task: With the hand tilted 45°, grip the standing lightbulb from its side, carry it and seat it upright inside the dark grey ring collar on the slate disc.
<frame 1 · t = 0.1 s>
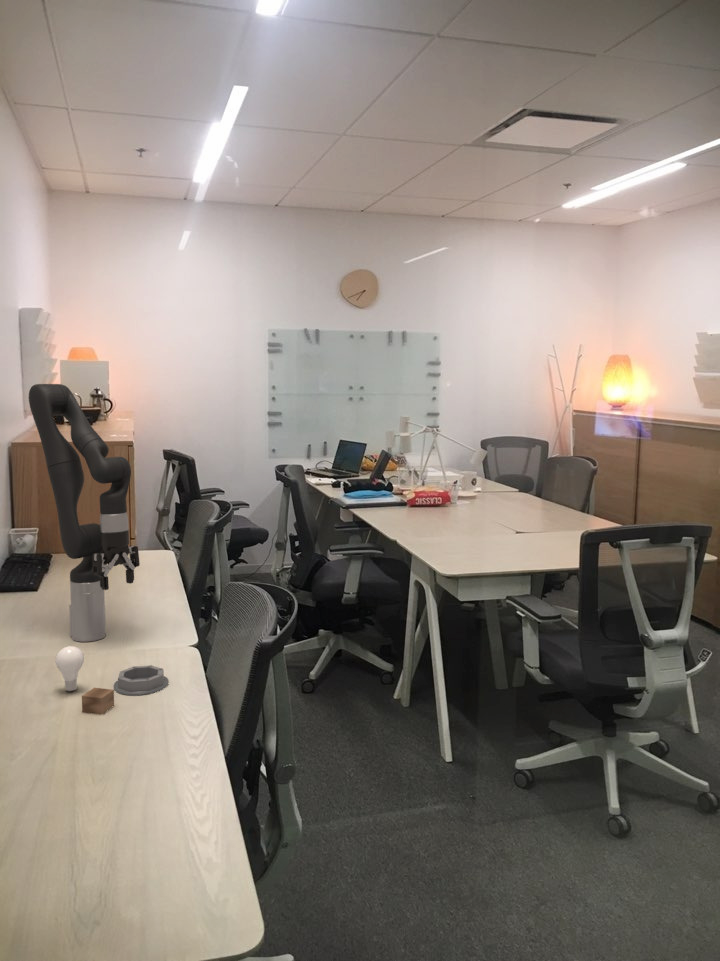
hand: (117, 586, 215), 17 cm above the table, tool pointing down, fingers open, 8 cm apart
walnut block: (98, 709, 175), on the table
socket collar: (141, 685, 189), on the table
lightbulb: (71, 691, 185), on the table
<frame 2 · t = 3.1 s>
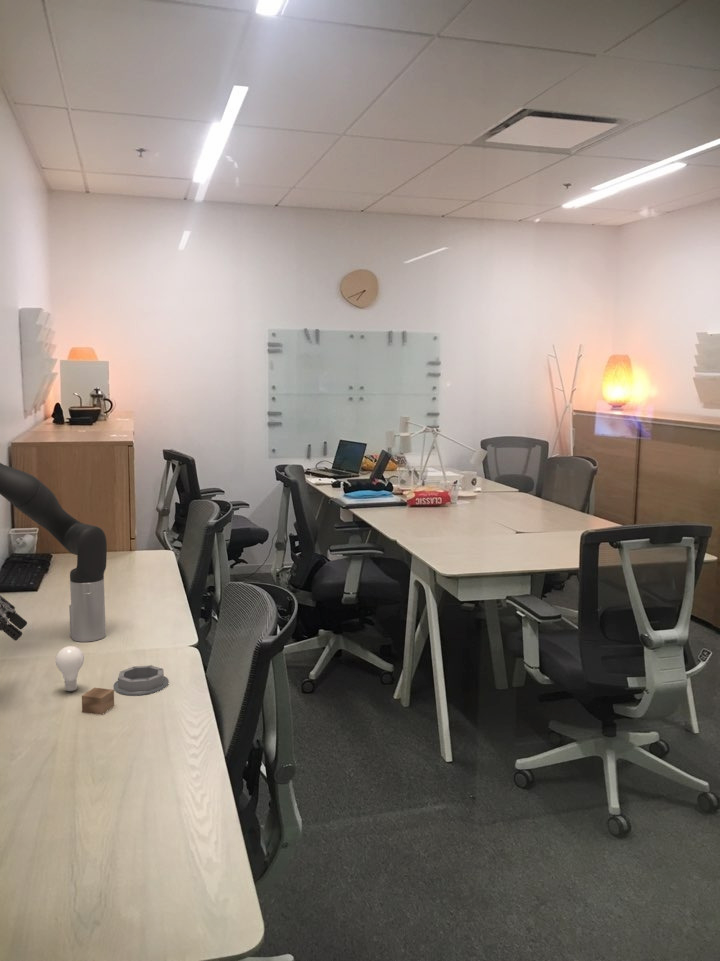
hand: (22, 631, 180), 15 cm above the table, tool tilted 45°, fingers open, 8 cm apart
nothing on the table moved.
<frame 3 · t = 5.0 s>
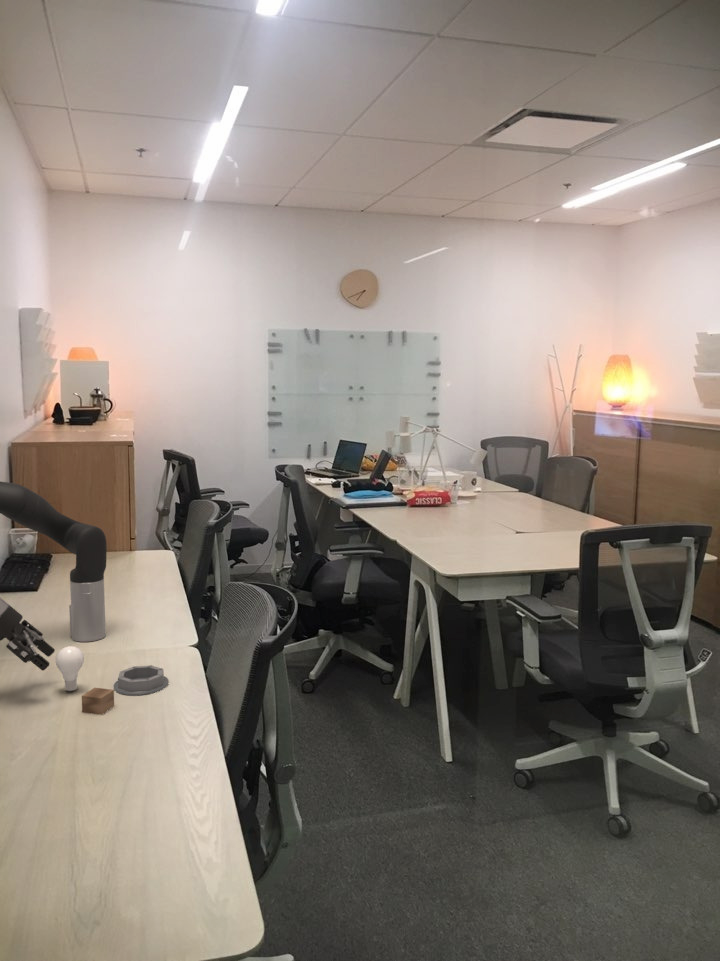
hand: (49, 660, 183), 8 cm above the table, tool tilted 45°, fingers open, 8 cm apart
nothing on the table moved.
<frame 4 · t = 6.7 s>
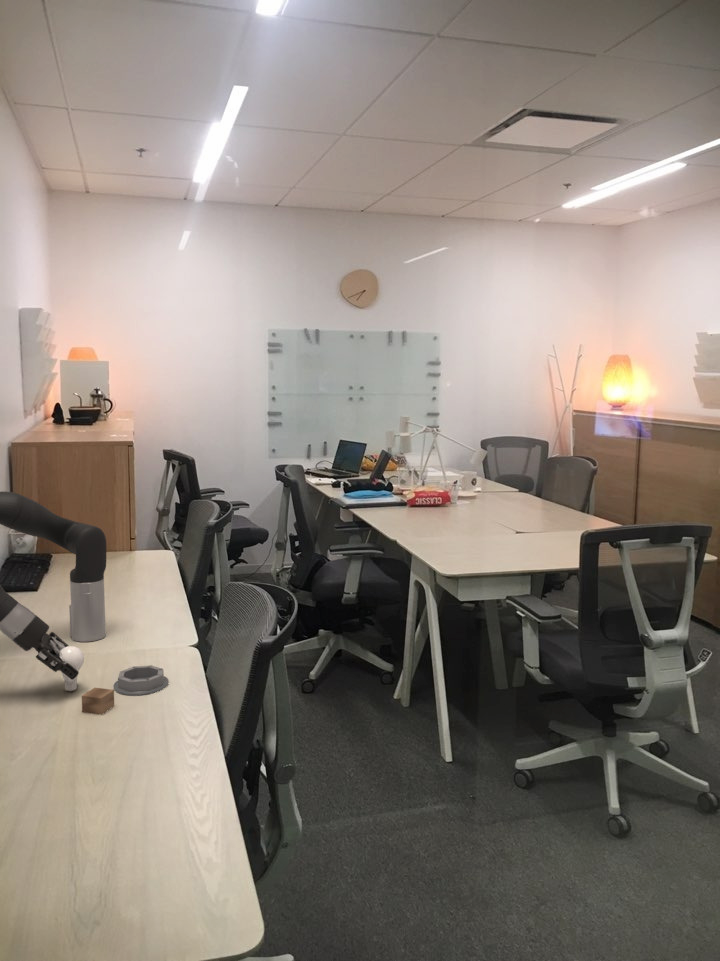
hand: (77, 670, 185), 5 cm above the table, tool tilted 45°, fingers closed on lightbulb, 6 cm apart
lightbulb: (71, 691, 185), on the table, touching gripper
everything else where it was.
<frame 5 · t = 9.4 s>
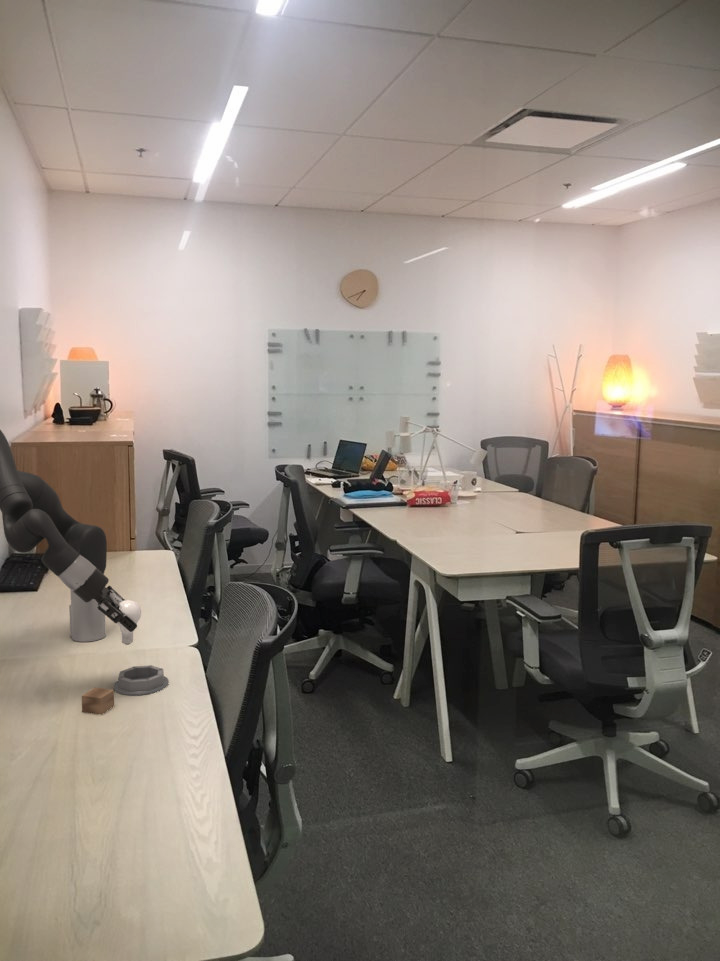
hand: (134, 624, 187), 15 cm above the table, tool tilted 45°, fingers closed on lightbulb, 6 cm apart
lightbulb: (127, 645, 187), point 10 cm above the table, touching gripper
everything else where it was.
when the fingers open (6 cm above the table, at t = 12.1 s): lightbulb stays where it is, resting on socket collar.
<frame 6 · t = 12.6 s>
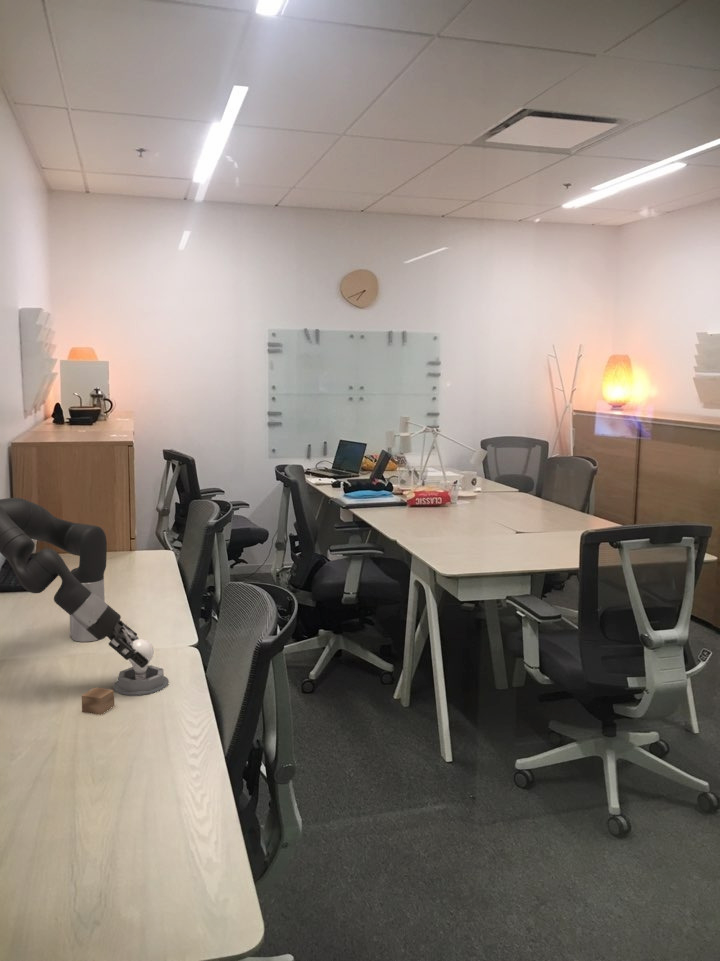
hand: (146, 658, 188), 7 cm above the table, tool tilted 45°, fingers open, 8 cm apart
lightbulb: (140, 683, 189), resting on socket collar
everything else where it was.
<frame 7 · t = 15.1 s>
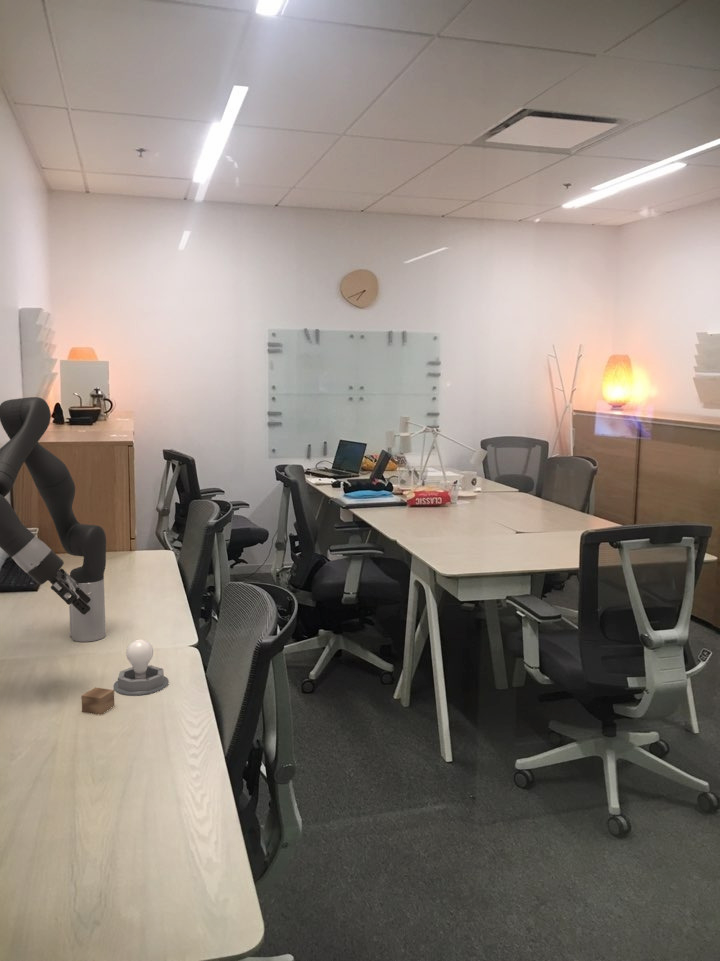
hand: (87, 607, 185), 20 cm above the table, tool tilted 40°, fingers open, 8 cm apart
nothing on the table moved.
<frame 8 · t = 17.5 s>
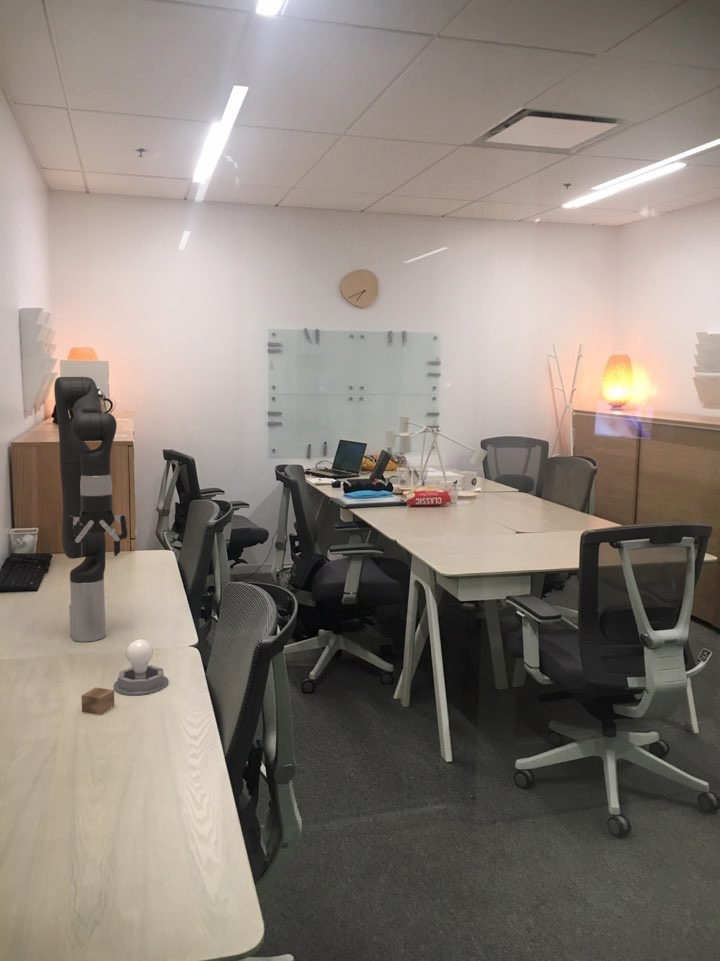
hand: (98, 555, 195), 30 cm above the table, tool pointing down, fingers open, 8 cm apart
nothing on the table moved.
at the end: lightbulb 0.2 cm from the socket collar (horizontally); lightbulb resting on socket collar; lightbulb tilted 0° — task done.
